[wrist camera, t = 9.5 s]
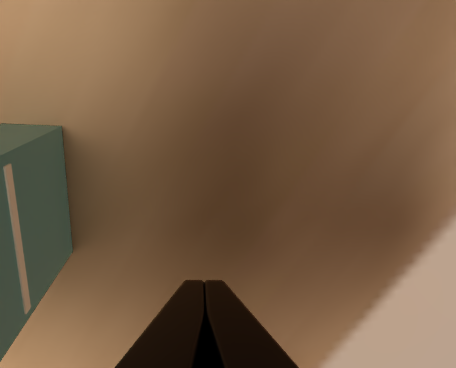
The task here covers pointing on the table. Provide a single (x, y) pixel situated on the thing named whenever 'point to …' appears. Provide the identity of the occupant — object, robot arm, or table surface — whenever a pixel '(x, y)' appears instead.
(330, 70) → the table surface
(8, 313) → the domino
